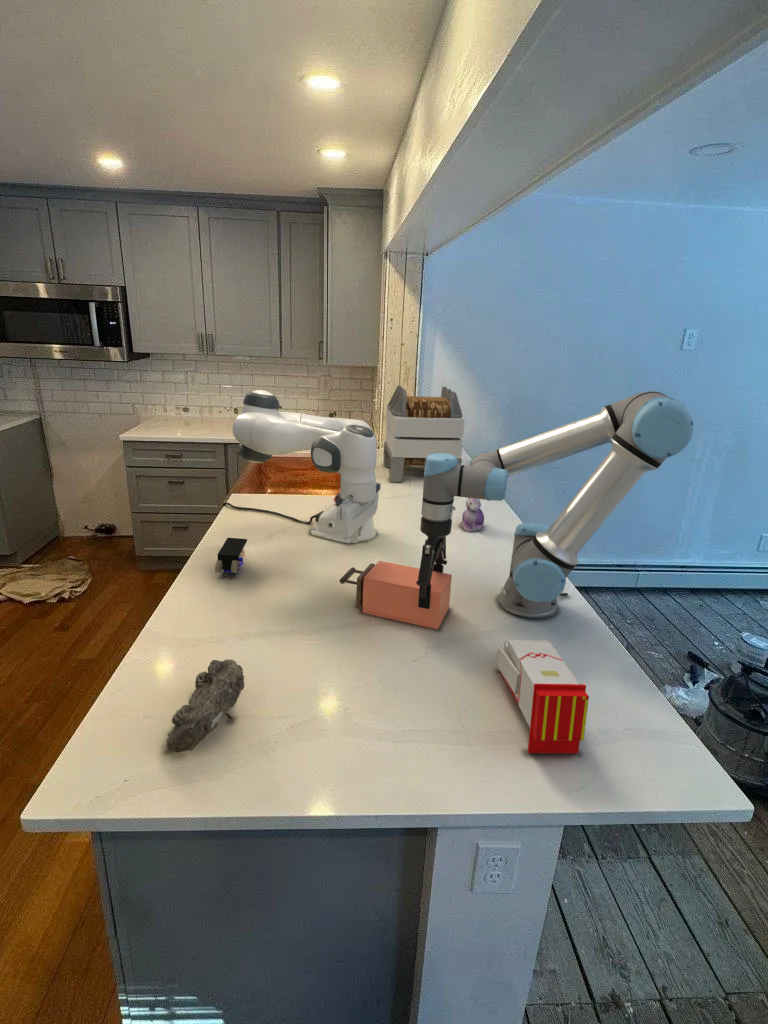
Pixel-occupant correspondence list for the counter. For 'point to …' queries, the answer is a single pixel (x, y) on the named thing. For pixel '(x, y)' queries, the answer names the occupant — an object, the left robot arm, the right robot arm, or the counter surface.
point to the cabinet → (405, 595)
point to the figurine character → (230, 556)
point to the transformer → (421, 429)
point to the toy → (545, 695)
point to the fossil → (206, 705)
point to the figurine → (472, 515)
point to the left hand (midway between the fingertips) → (356, 541)
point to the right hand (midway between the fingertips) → (430, 597)
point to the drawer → (359, 582)
